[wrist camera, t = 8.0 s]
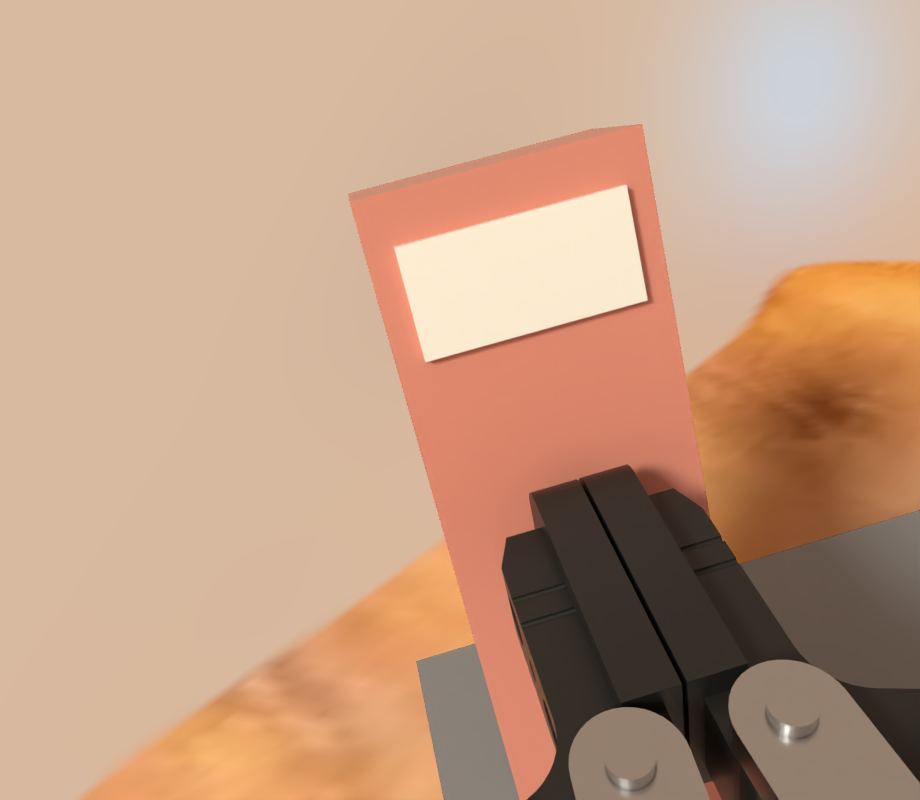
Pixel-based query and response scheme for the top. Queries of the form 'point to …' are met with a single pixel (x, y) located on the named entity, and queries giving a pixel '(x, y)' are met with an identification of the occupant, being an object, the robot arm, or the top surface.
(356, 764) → the top surface
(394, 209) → the block
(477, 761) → the grey switch base
